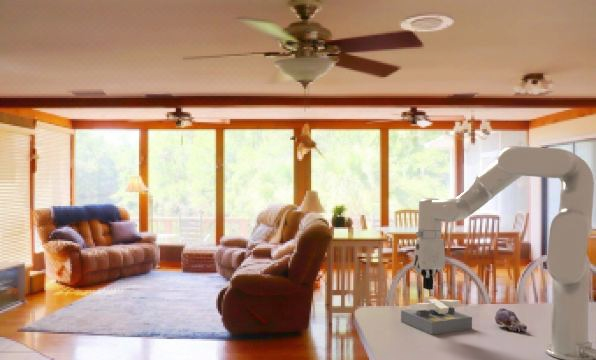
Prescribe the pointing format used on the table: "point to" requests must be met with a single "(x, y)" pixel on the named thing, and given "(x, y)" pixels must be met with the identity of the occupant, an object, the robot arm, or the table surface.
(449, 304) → the rocker
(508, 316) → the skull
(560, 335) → the robot arm
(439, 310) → the rocker
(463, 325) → the switch unit
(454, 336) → the table surface
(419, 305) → the block
